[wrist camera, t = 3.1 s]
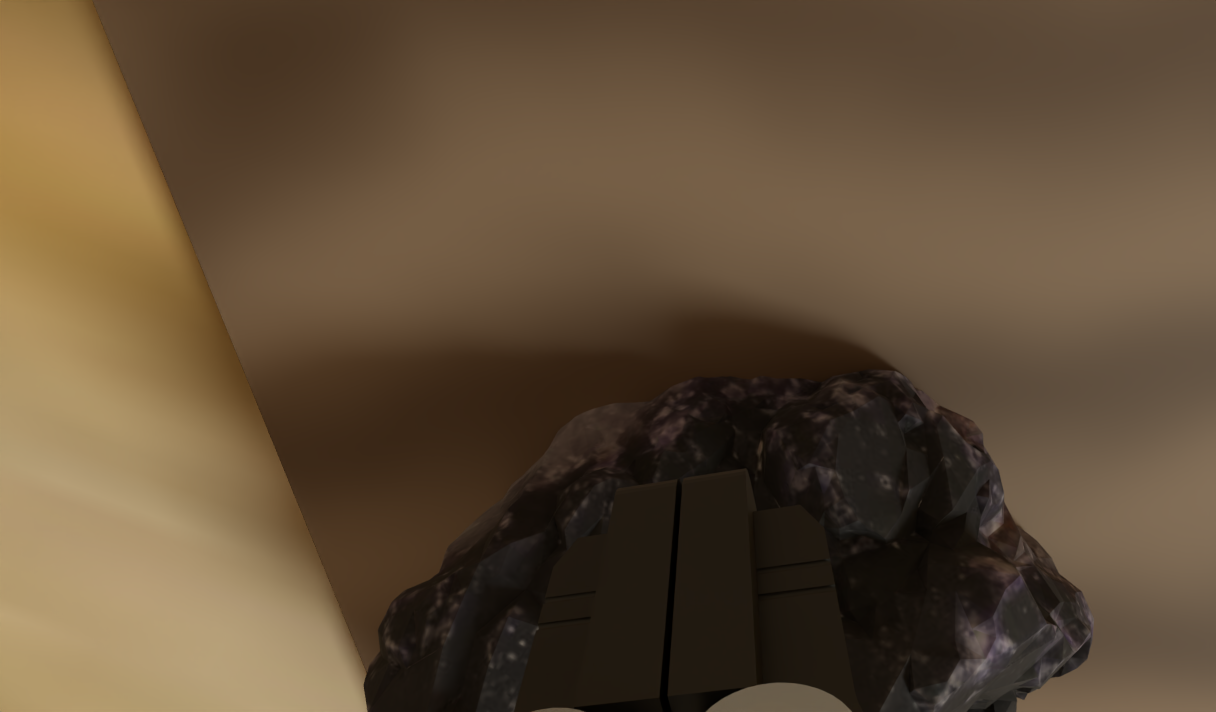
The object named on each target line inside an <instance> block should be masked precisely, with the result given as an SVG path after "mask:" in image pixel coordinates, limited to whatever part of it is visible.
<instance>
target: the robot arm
mask: <svg viewBox="0 0 1216 712" xmlns="http://www.w3.org/2000/svg"><path fill="white" fill-rule="evenodd" d="M545 601H546V604H543V607H542V610H541V614H540V617H539V621H538V628H539V629H538V630H536V632H535V636H534V639H533V643H532V647H531V650H530V654H529V658H528V661H527V665H526V669H525V672H524V676H523V679H522V683H521V687H520V690H519V694H518V698H517V701H516V705H515V709H514V712H863V710H862V709H861V707H860V705H859V703H858V700H857V697H856V694H855V690H854V684H853V679H852V673H851V668H850V663H849V657H848V652H847V647H846V641H845V636H844V631H843V625H842V620H841V615H840V609H839V604H838V599H837V593H836V588H835V582H834V577H833V572H832V566H831V561H830V556H829V550H828V545H827V540H826V534H825V529H824V527H823V526H822V525H821V524H820V523H819V522H818V521H817V520H816V519H814V518H813V517H812V516H811V515H810V514H809V513H808V512H807V511H806V510H805V509H804V508H803V507H802V506H801V505H795V506H788V507H782V508H775V509H768V510H761V511H757V509H756V505H755V500H754V495H753V490H752V486H751V481H750V477H749V474H748V471H747V469H746V468H745V469H739V470H732V471H726V472H719V473H713V474H707V475H700V476H694V477H687V478H684V479H683V483H682V482H681V481H680V480H679V479H676V480H670V481H663V482H657V483H650V484H644V485H637V486H631V487H625V488H618V489H617V490H616V492H615V497H614V502H613V507H612V512H611V517H610V522H609V527H608V532H607V534H600V535H593V536H586V537H579V538H577V540H576V541H575V542H574V543H573V544H572V545H571V547H570V548H569V549H568V550H567V551H566V553H565V554H564V555H563V556H562V557H561V558H560V560H559V561H558V562H557V563H556V564H555V565H554V567H553V570H552V574H551V577H550V581H549V585H548V588H547V592H546V596H545Z"/></svg>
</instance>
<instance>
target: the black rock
mask: <svg viewBox="0 0 1216 712" xmlns="http://www.w3.org/2000/svg"><path fill="white" fill-rule="evenodd" d="M745 468H746V469H747V471H748V474H749V477H750V481H751V486H752V490H753V495H754V500H755V505H756V509H757V511H761V510H768V509H775V508H782V507H788V506H795V505H801V506H802V507H803V508H804V509H805V510H806V511H807V512H808V513H809V514H810V515H811V516H812V517H813V518H814V519H816V520H817V521H818V522H819V523H820V524H821V525H822V526H823V527H824V529H825V534H826V540H827V545H828V550H829V556H830V561H831V566H832V572H833V577H834V582H835V588H836V593H837V599H838V604H839V609H840V615H841V620H842V625H843V631H844V636H845V641H846V647H847V652H848V657H849V663H850V668H851V673H852V679H853V684H854V690H855V694H856V697H857V700H858V703H859V705H860V707H861V709H862V710H863V712H1016V710H1017V698H1020V699H1022V700H1025V698H1026V696H1027V694H1028V693H1031V692H1033V691H1035V690H1037V689H1040V688H1041V687H1042V686H1043V685H1044V684H1045V683H1046V682H1047V681H1048V680H1049V679H1050V678H1053V677H1061V676H1063V675H1065V674H1067V673H1069V672H1071V671H1073V670H1075V669H1077V668H1078V667H1079V666H1080V665H1081V664H1082V663H1084V662H1085V661H1086V660H1087V659H1088V655H1089V651H1090V648H1091V644H1092V639H1093V626H1094V618H1093V615H1092V613H1091V611H1090V609H1089V606H1088V604H1087V602H1086V600H1085V597H1084V595H1083V593H1082V591H1081V590H1079V589H1078V588H1077V587H1076V586H1074V585H1073V584H1072V583H1071V582H1069V581H1068V580H1067V579H1066V578H1064V577H1063V576H1062V575H1061V574H1059V572H1058V570H1057V568H1056V566H1055V564H1054V562H1053V559H1052V557H1051V556H1050V555H1049V554H1048V553H1047V552H1046V551H1045V549H1044V548H1043V547H1042V546H1041V545H1040V544H1039V542H1038V541H1037V540H1036V539H1034V538H1033V537H1032V536H1031V535H1029V534H1028V533H1027V532H1025V531H1024V530H1022V529H1021V528H1020V527H1018V526H1016V524H1015V522H1014V520H1013V518H1012V516H1011V514H1010V512H1009V510H1008V508H1007V506H1006V504H1005V502H1004V490H1003V486H1002V482H1001V478H1000V473H999V469H998V468H997V467H996V465H995V463H994V461H993V460H992V458H991V457H990V455H989V453H988V452H987V450H986V449H985V447H984V443H983V433H982V432H981V430H980V429H979V428H978V426H977V425H976V424H975V423H974V421H972V420H970V419H968V418H966V417H964V416H962V415H960V414H958V413H955V412H953V411H951V410H948V409H946V408H944V407H942V406H939V405H938V404H937V403H936V402H935V401H934V400H932V399H931V398H930V397H929V396H928V395H927V394H925V393H924V392H923V391H921V390H918V389H915V388H914V386H913V384H912V383H911V381H910V380H909V379H908V378H906V377H905V376H903V375H902V374H900V373H898V372H896V371H889V370H875V369H868V370H864V371H859V372H853V373H848V374H842V375H836V376H832V377H830V378H829V379H827V380H825V381H823V382H818V381H813V380H807V379H802V378H780V379H777V378H772V377H767V376H759V377H756V378H754V379H743V378H737V377H732V376H728V377H723V376H721V377H711V378H706V377H694V378H692V379H689V380H687V381H684V382H682V383H679V384H676V385H674V386H672V387H670V388H668V389H667V390H666V391H664V392H663V393H661V394H660V395H658V396H657V397H656V398H654V399H653V400H651V401H650V402H636V403H613V404H609V405H605V406H602V407H598V408H594V409H592V410H589V411H586V412H584V413H582V414H580V415H578V416H576V417H574V418H573V419H572V420H571V421H570V422H568V423H567V424H566V425H564V426H563V427H562V428H561V429H560V430H559V431H558V432H557V434H556V436H555V438H554V439H553V441H552V443H551V445H550V446H549V448H548V449H547V451H546V452H545V453H544V455H543V456H542V457H541V458H540V459H539V460H538V461H537V462H536V463H535V464H534V465H533V466H531V468H530V469H529V470H528V471H527V472H526V473H525V474H524V475H523V476H522V477H520V478H519V479H518V480H516V481H515V482H514V483H513V484H512V485H511V486H510V488H509V490H508V491H507V493H506V494H505V496H504V498H503V499H501V500H500V501H499V502H497V503H496V504H494V505H493V506H491V507H490V508H489V509H488V510H487V511H485V512H484V513H483V514H482V515H481V516H480V517H479V518H478V519H476V520H475V521H474V522H473V523H472V524H471V525H470V526H469V527H467V528H466V529H465V530H464V531H463V532H462V533H461V534H460V535H459V536H458V537H457V538H456V539H455V541H453V542H452V543H451V544H450V545H449V546H448V548H447V550H446V552H445V554H444V557H443V561H442V564H441V568H440V571H439V573H437V574H436V575H435V576H433V577H432V578H431V579H430V580H428V581H425V582H423V583H421V584H418V585H416V586H413V587H411V588H409V589H406V590H404V591H403V592H402V593H401V594H400V595H399V596H398V597H396V598H395V599H394V600H393V601H392V602H391V604H390V606H389V608H388V610H387V612H386V614H385V616H384V618H383V620H382V622H381V624H380V626H379V628H378V637H379V645H380V652H379V653H378V654H377V656H376V657H375V658H374V659H373V661H372V662H371V663H370V664H369V667H368V671H367V675H366V678H365V682H364V691H365V697H366V704H367V711H368V712H514V709H515V705H516V701H517V698H518V694H519V690H520V687H521V683H522V679H523V676H524V672H525V669H526V665H527V661H528V658H529V654H530V650H531V647H532V643H533V639H534V636H535V632H536V630H538V629H539V628H538V621H539V617H540V614H541V610H542V607H543V604H546V601H545V596H546V592H547V588H548V585H549V581H550V577H551V574H552V570H553V567H554V565H555V564H556V563H557V562H558V561H559V560H560V558H561V557H562V556H563V555H564V554H565V553H566V551H567V550H568V549H569V548H570V547H571V545H572V544H573V543H574V542H575V541H576V540H577V538H579V537H586V536H593V535H600V534H607V532H608V527H609V522H610V517H611V512H612V507H613V502H614V497H615V492H616V490H617V489H618V488H625V487H631V486H637V485H644V484H650V483H657V482H663V481H670V480H676V479H679V480H680V481H681V482H682V483H683V479H684V478H687V477H694V476H700V475H707V474H713V473H719V472H726V471H732V470H739V469H745Z"/></svg>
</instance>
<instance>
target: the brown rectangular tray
mask: <svg viewBox="0 0 1216 712" xmlns="http://www.w3.org/2000/svg"><path fill="white" fill-rule="evenodd" d="M92 1H93V3H94V5H95V8H96V10H97V13H98V15H99V18H100V20H101V23H102V25H103V27H104V30H105V32H106V35H107V37H108V40H109V42H110V45H111V47H112V50H113V52H114V54H115V57H116V59H117V62H118V64H119V67H120V69H121V72H122V74H123V76H124V79H125V81H126V84H127V86H128V89H129V91H130V94H131V96H132V99H133V101H134V103H135V106H136V108H137V111H138V113H139V116H140V118H141V121H142V123H143V125H144V128H145V130H146V133H147V135H148V138H149V140H150V143H151V145H152V148H153V150H154V152H155V155H156V157H157V160H158V162H159V165H160V167H161V170H162V172H163V174H164V177H165V179H166V182H167V184H168V187H169V189H170V192H171V194H172V196H173V199H174V201H175V204H176V206H177V209H178V211H179V214H180V216H181V219H182V221H183V223H184V226H185V228H186V231H187V233H188V236H189V238H190V241H191V243H192V245H193V248H194V250H195V253H196V255H197V258H198V260H199V263H200V265H201V268H202V270H203V272H204V275H205V277H206V280H207V282H208V285H209V287H210V290H211V292H212V294H213V297H214V299H215V302H216V304H217V307H218V309H219V312H220V314H221V317H222V319H223V321H224V324H225V326H226V329H227V331H228V334H229V336H230V339H231V341H232V343H233V346H234V348H235V351H236V353H237V356H238V358H239V361H240V363H241V366H242V368H243V370H244V373H245V375H246V378H247V380H248V383H249V385H250V388H251V390H252V392H253V395H254V397H255V400H256V402H257V405H258V407H259V410H260V412H261V414H262V417H263V419H264V422H265V424H266V427H267V429H268V432H269V434H270V437H271V439H272V441H273V444H274V446H275V449H276V451H277V454H278V456H279V459H280V461H281V463H282V466H283V468H284V471H285V473H286V476H287V478H288V481H289V483H290V486H291V488H292V490H293V493H294V495H295V498H296V500H297V503H298V505H299V508H300V510H301V512H302V515H303V517H304V520H305V522H306V525H307V527H308V530H309V532H310V535H311V537H312V539H313V542H314V544H315V547H316V549H317V552H318V554H319V557H320V559H321V561H322V564H323V566H324V569H325V571H326V574H327V576H328V579H329V581H330V584H331V586H332V588H333V591H334V593H335V596H336V598H337V601H338V603H339V606H340V608H341V610H342V613H343V615H344V618H345V620H346V623H347V625H348V628H349V630H350V632H351V635H352V637H353V640H354V642H355V645H356V647H357V650H358V652H359V655H360V657H361V659H362V662H363V664H364V667H365V669H366V672H367V671H368V667H369V664H370V663H371V662H372V661H373V659H374V658H375V657H376V656H377V654H378V653H379V652H380V645H379V637H378V628H379V626H380V624H381V622H382V620H383V618H384V616H385V614H386V612H387V610H388V608H389V606H390V604H391V602H392V601H393V600H394V599H395V598H396V597H398V596H399V595H400V594H401V593H402V592H403V591H404V590H406V589H409V588H411V587H413V586H416V585H418V584H421V583H423V582H425V581H428V580H430V579H431V578H432V577H433V576H435V575H436V574H437V573H439V571H440V568H441V564H442V561H443V557H444V554H445V552H446V550H447V548H448V546H449V545H450V544H451V543H452V542H453V541H455V539H456V538H457V537H458V536H459V535H460V534H461V533H462V532H463V531H464V530H465V529H466V528H467V527H469V526H470V525H471V524H472V523H473V522H474V521H475V520H476V519H478V518H479V517H480V516H481V515H482V514H483V513H484V512H485V511H487V510H488V509H489V508H490V507H491V506H493V505H494V504H496V503H497V502H499V501H500V500H501V499H503V498H504V496H505V494H506V493H507V491H508V490H509V488H510V486H511V485H512V484H513V483H514V482H515V481H516V480H518V479H519V478H520V477H522V476H523V475H524V474H525V473H526V472H527V471H528V470H529V469H530V468H531V466H533V465H534V464H535V463H536V462H537V461H538V460H539V459H540V458H541V457H542V456H543V455H544V453H545V452H546V451H547V449H548V448H549V446H550V445H551V443H552V441H553V439H554V438H555V436H556V434H557V432H558V431H559V430H560V429H561V428H562V427H563V426H564V425H566V424H567V423H568V422H570V421H571V420H572V419H573V418H574V417H576V416H578V415H580V414H582V413H584V412H586V411H589V410H592V409H594V408H598V407H602V406H605V405H609V404H613V403H636V402H650V401H651V400H653V399H654V398H656V397H657V396H658V395H660V394H661V393H663V392H664V391H666V390H667V389H668V388H670V387H672V386H674V385H676V384H679V383H682V382H684V381H687V380H689V379H692V378H694V377H706V378H711V377H721V376H723V377H728V376H732V377H737V378H743V379H754V378H756V377H759V376H767V377H772V378H777V379H780V378H802V379H807V380H813V381H818V382H823V381H825V380H827V379H829V378H830V377H832V376H836V375H842V374H848V373H853V372H859V371H864V370H868V369H875V370H889V371H896V372H898V373H900V374H902V375H903V376H905V377H906V378H908V379H909V380H910V381H911V383H912V384H913V386H914V388H915V389H918V390H921V391H923V392H924V393H925V394H927V395H928V396H929V397H930V398H931V399H932V400H934V401H935V402H936V403H937V404H938V405H939V406H942V407H944V408H946V409H948V410H951V411H953V412H955V413H958V414H960V415H962V416H964V417H966V418H968V419H970V420H972V421H974V423H975V424H976V425H977V426H978V428H979V429H980V430H981V432H982V433H983V443H984V447H985V449H986V450H987V452H988V453H989V455H990V457H991V458H992V460H993V461H994V463H995V465H996V467H997V468H998V469H999V473H1000V478H1001V482H1002V486H1003V490H1004V502H1005V504H1006V506H1007V508H1008V510H1009V512H1010V514H1011V516H1012V518H1013V520H1014V522H1015V524H1016V526H1018V527H1020V528H1021V529H1022V530H1024V531H1025V532H1027V533H1028V534H1029V535H1031V536H1032V537H1033V538H1034V539H1036V540H1037V541H1038V542H1039V544H1040V545H1041V546H1042V547H1043V548H1044V549H1045V551H1046V552H1047V553H1048V554H1049V555H1050V556H1051V557H1052V559H1053V562H1054V564H1055V566H1056V568H1057V570H1058V572H1059V574H1061V575H1062V576H1063V577H1064V578H1066V579H1067V580H1068V581H1069V582H1071V583H1072V584H1073V585H1074V586H1076V587H1077V588H1078V589H1079V590H1081V591H1082V593H1083V595H1084V597H1085V600H1086V602H1087V604H1088V606H1089V609H1090V611H1091V613H1092V615H1093V618H1094V626H1093V639H1092V644H1091V648H1090V651H1089V655H1088V659H1087V660H1086V661H1085V662H1084V663H1082V664H1081V665H1080V666H1079V667H1078V668H1077V669H1075V670H1073V671H1071V672H1069V673H1067V674H1065V675H1063V676H1061V677H1053V678H1050V679H1049V680H1048V681H1047V682H1046V683H1045V684H1044V685H1043V686H1042V687H1041V688H1040V689H1037V690H1035V691H1033V692H1031V693H1028V694H1027V696H1026V698H1025V700H1022V699H1020V698H1017V710H1016V712H1216V0H92Z"/></svg>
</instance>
